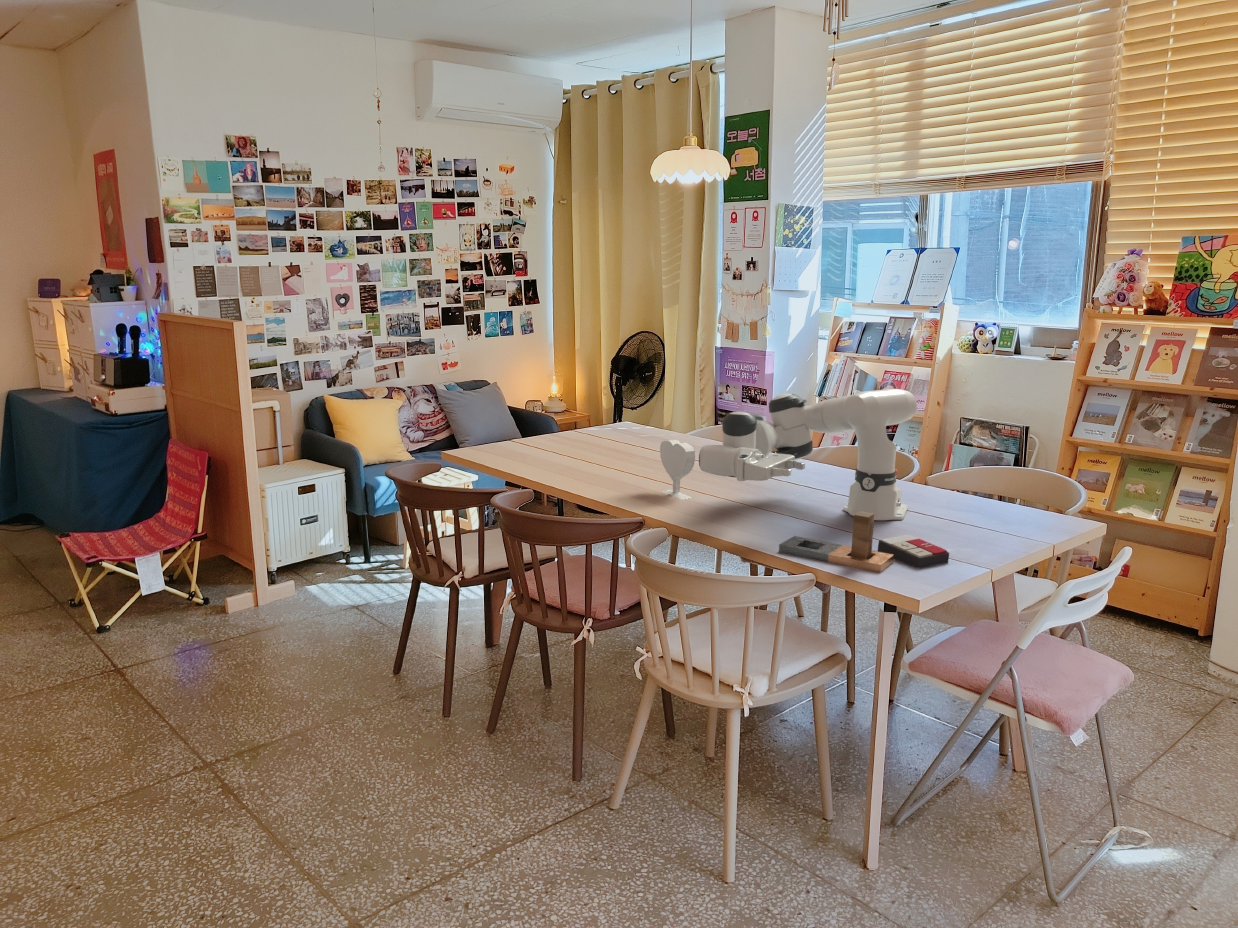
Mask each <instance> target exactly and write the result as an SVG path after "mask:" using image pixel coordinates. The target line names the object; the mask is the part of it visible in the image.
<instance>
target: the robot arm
mask: <svg viewBox="0 0 1238 928" xmlns="http://www.w3.org/2000/svg"><path fill="white" fill-rule="evenodd" d="M807 402H808V401H807V400H806V399H803V398H802V397H800V396H799V395H797V394H795V393H789V392H788V393H781V394H778V395H776V396H775V397H773V398H772V399H770V401H769V402H768V412H769V414H770V419H771V420H770V421H771V422H770V421H766V420H764V418H763V417H762V416H761V415H759V414H751V413H748V412H746V411H733V412H730V413H729V412H728V413H727V414H726V415H725V416H724V417H723V419H722V420H721V425H722V427H721V429H722V444H708V445H706V444H705V445H703V446H702V447H701V448H700V450H699V454H698V466H699V468H700V470H701V472H704V473H707V474H710V475H714V476H719V477H720V476H721V477H725V478H726V477H729V478H736V481H738V482H746V481H756V482H757V481H758V482H759V481H761V482H762V481H767V480H769V479H771V478H775V477H789V476H792V469H796V470H798V471H799V470H801V471H802V470H804V469H806V463H805V462H804V461H803V462H802V461H798V460H802V459H804V458H806V457H807V456H809V455H811V453H812V452H813V448H814V447H813V446H814V445H813V440H812V438H811V437H812V436H811V431H812V432H815V433H822V434H834V433H843V432H849V431H854V434H855V437H856V440H857V450H858V451H857V468H855V472H854V480H855V482H853V483H852V484H850V486H849V494H848V500H847V504H846V505H844V506H843V507H842V508H843V509H842V511H844V512H846V513H848V514H849V515H850V516H853V517H854V514H856V513H857V512H859V511H861V512H867V513H873V514H874V521H889V520H890V521H891V520H896V521H899V520H900V521H901V520H902V521H903V520H904V518H905V515H906V514H907V512H908V507H909V506H908V505H907V504H905V503H902V491H901V489H900V488H899V486H898V485H897V483H896V482H897V475H898V469H897V468H895V467H896V453H897V448H896V445H895V443H894V441H892V440H890V439H889V437H888V434H887V426H894V425H900V424H902V423H905V422H907V421H909V420H911V419H912V418H913V417H914V416H915V415H916V412H917V408H918V407H917V406H918V403H917V400H916V398H915V396H914V394H913V393H912V392H910V391H909V390H904V389H900V388H886V389H875V390H865V391H864V390H863V391H859V392H857V393H855V394H848V395H844V396H837V397H833V398H827V399H824V400H821V401H818V402H816V403H813V404H811V405H807V404H806V403H807ZM774 449H776V450H775V451H774ZM772 451H774V452H775V453H771V452H772Z"/></svg>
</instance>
